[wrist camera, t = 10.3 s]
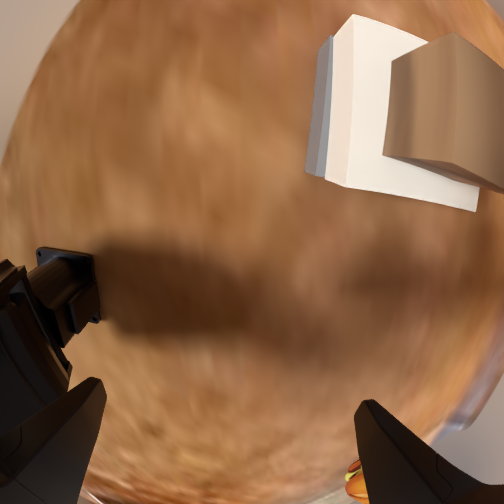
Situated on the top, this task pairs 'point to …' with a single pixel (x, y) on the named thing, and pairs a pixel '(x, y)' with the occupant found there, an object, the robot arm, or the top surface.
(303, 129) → the top surface
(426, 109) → the walnut block
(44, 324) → the robot arm
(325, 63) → the tower base slab
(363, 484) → the cheeseburger
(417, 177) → the tower top slab
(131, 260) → the top surface
